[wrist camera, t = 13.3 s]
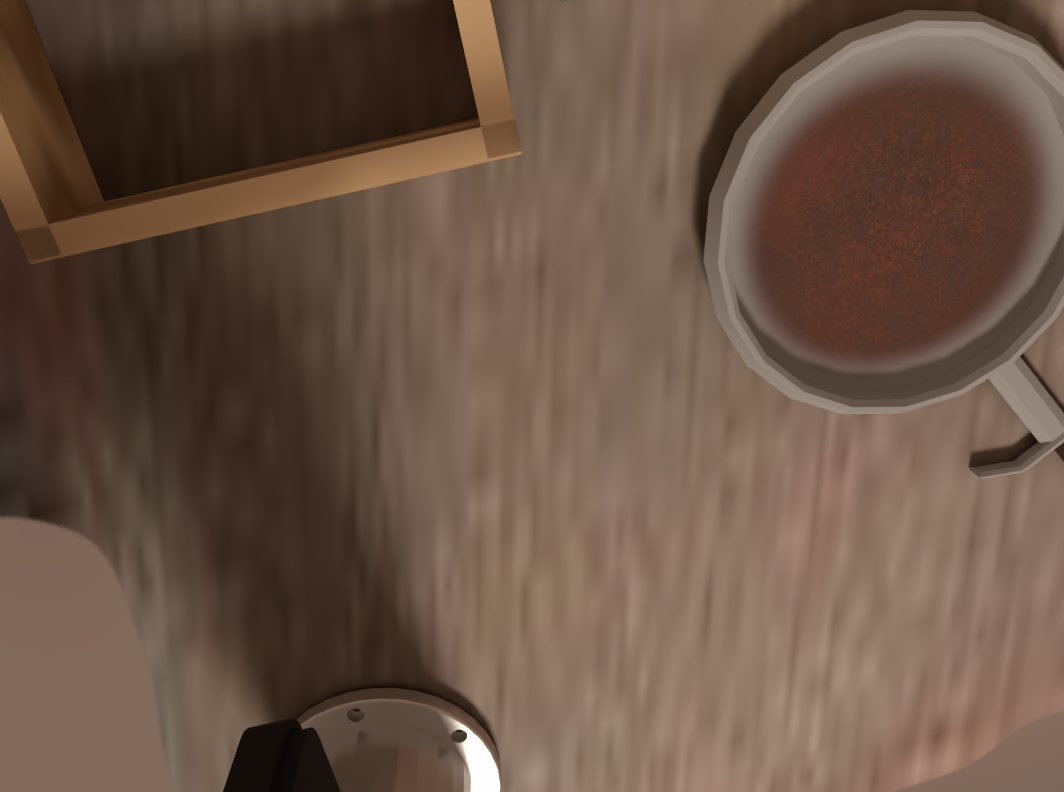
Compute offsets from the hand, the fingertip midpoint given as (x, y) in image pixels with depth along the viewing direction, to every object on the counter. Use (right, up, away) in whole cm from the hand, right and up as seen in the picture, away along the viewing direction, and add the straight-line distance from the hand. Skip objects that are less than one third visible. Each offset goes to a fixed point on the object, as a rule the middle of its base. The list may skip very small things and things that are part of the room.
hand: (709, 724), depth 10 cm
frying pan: (+17, +8, +29) cm, 35 cm away
